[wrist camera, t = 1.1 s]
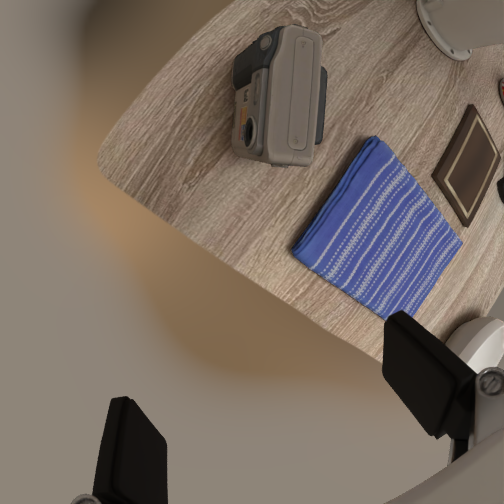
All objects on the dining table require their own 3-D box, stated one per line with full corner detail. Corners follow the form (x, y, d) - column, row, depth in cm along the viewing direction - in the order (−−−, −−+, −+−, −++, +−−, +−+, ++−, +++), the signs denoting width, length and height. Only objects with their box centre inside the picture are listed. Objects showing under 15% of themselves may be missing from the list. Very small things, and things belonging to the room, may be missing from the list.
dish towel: (366, 129, 29) (379, 128, 27) (456, 238, 37) (468, 243, 34) (282, 250, 32) (290, 258, 29) (396, 327, 40) (406, 337, 37)
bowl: (454, 376, 51) (474, 397, 43) (409, 382, 46) (432, 410, 38) (494, 307, 46) (519, 326, 38) (458, 298, 40) (491, 321, 32)
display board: (431, 175, 33) (436, 176, 32) (469, 104, 30) (473, 103, 29) (463, 226, 37) (468, 228, 35) (497, 157, 34) (501, 157, 33)
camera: (232, 49, 23) (272, 12, 14) (284, 60, 25) (341, 36, 16) (218, 156, 27) (254, 165, 18) (273, 161, 29) (327, 174, 20)
